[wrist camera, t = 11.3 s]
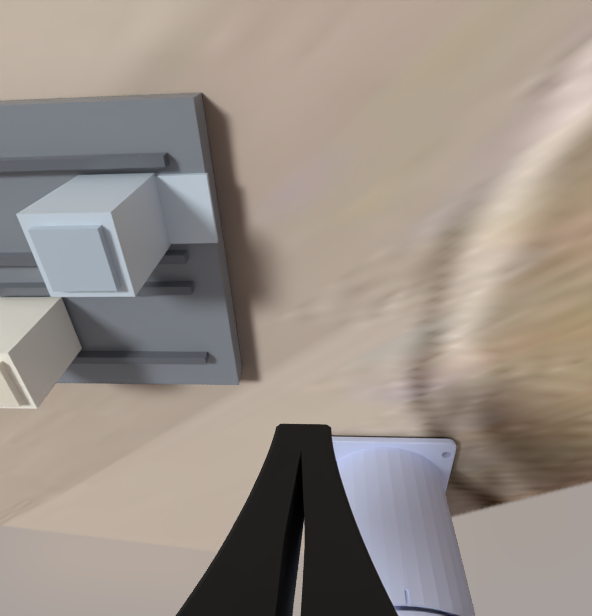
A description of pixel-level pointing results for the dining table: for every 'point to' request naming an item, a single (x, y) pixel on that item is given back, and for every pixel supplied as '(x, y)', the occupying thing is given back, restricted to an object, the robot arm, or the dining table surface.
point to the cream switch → (33, 348)
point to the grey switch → (97, 235)
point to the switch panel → (178, 219)
